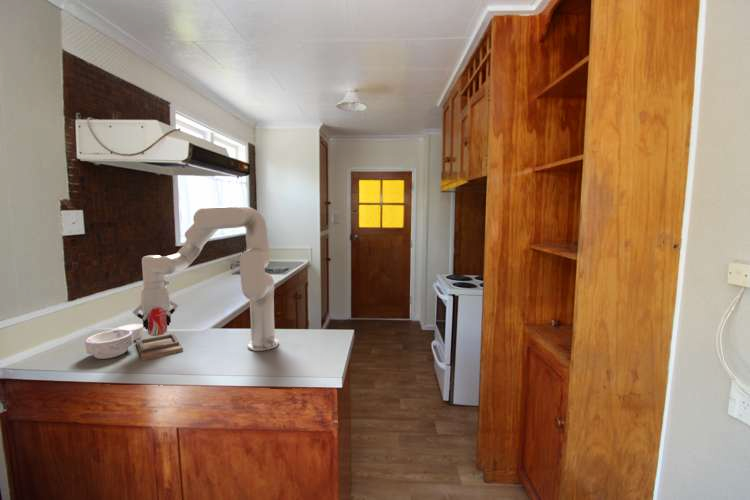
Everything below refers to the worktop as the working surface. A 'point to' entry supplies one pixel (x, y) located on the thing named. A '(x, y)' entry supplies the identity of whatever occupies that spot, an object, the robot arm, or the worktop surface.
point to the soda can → (157, 322)
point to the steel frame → (159, 345)
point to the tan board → (159, 351)
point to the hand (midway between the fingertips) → (157, 326)
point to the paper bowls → (109, 343)
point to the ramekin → (133, 330)
